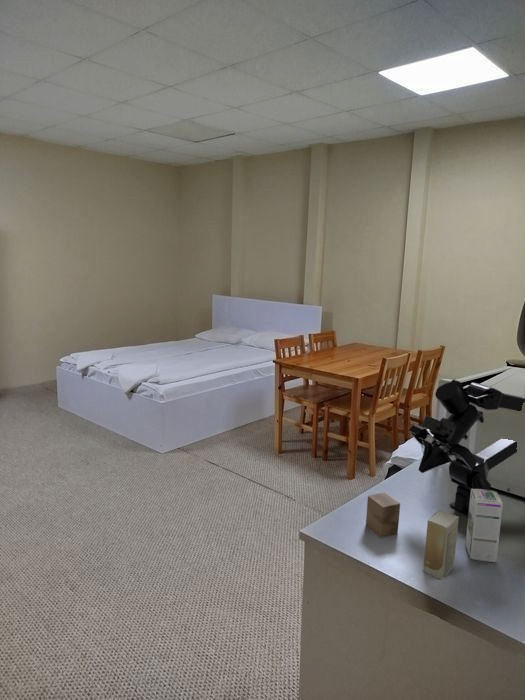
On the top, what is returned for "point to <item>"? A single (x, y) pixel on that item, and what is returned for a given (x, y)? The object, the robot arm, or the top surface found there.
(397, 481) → the top surface
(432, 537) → the skincare box
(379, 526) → the walnut block
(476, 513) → the syrup box
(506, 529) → the top surface
